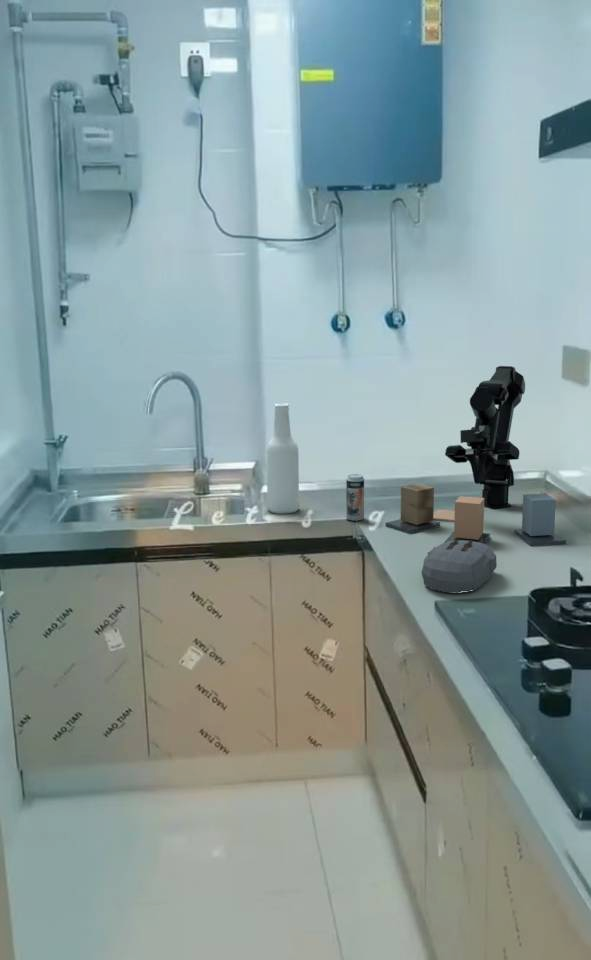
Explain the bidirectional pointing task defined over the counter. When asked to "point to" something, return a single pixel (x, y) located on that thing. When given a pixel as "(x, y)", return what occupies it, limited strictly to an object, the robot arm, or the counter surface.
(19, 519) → the counter surface
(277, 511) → the alcohol
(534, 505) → the blue-grey rectangular block
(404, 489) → the brown wooden block
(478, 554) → the small grey backpack
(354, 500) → the beer can
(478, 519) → the tan block
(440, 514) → the card
